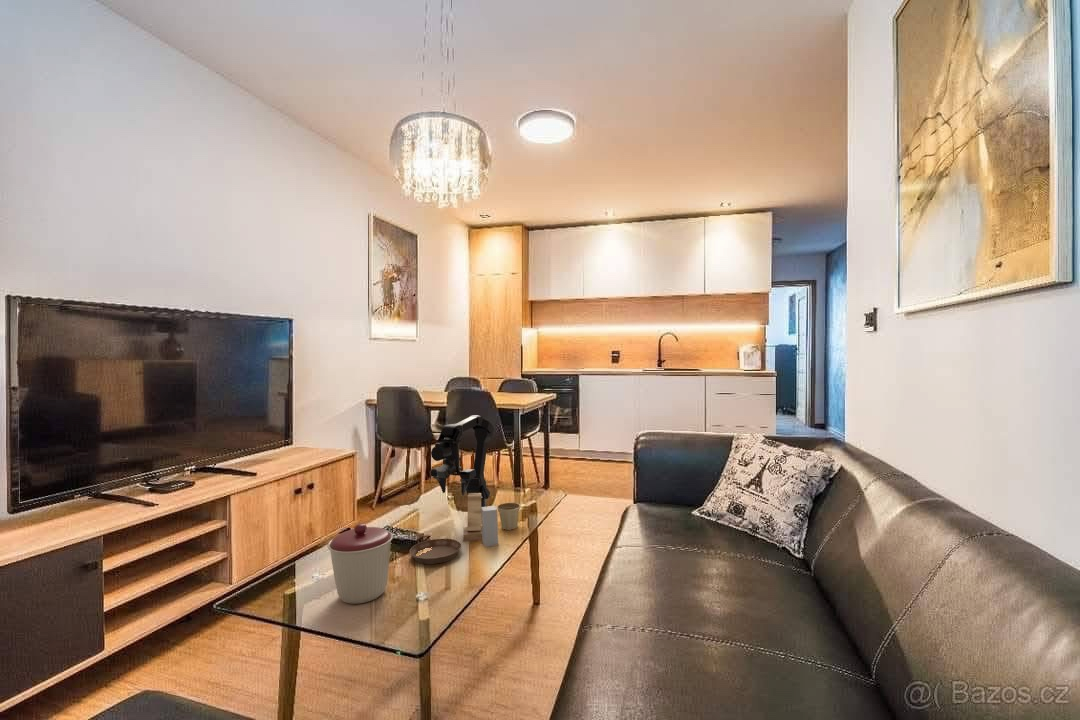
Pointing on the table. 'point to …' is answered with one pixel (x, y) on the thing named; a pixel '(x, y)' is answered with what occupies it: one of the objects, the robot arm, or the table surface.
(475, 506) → the oak pillar
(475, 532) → the walnut block
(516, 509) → the flower pot
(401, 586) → the table surface
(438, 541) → the plant saucer
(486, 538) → the grey pillar
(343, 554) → the canister
